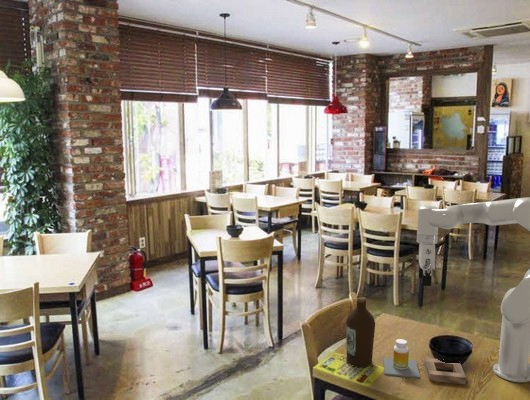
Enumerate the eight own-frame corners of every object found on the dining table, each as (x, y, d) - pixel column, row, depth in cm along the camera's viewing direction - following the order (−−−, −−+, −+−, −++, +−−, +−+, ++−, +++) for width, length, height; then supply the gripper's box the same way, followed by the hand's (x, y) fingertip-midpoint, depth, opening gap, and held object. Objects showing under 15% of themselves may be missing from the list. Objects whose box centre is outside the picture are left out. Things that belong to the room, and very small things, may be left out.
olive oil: (364, 353, 183) (367, 291, 179) (379, 366, 173) (381, 301, 169) (340, 357, 180) (341, 294, 176) (353, 370, 170) (355, 304, 166)
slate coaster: (415, 362, 176) (415, 360, 176) (419, 378, 165) (419, 376, 165) (383, 358, 179) (383, 357, 179) (384, 374, 167) (384, 373, 167)
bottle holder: (458, 367, 173) (459, 360, 172) (465, 384, 161) (466, 377, 161) (424, 364, 175) (424, 357, 174) (429, 380, 163) (429, 374, 163)
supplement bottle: (408, 370, 169) (409, 345, 167) (393, 369, 170) (394, 343, 168) (407, 363, 174) (408, 338, 172) (392, 362, 175) (393, 337, 174)
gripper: (441, 244, 170) (438, 289, 172) (433, 234, 187) (431, 275, 189) (419, 243, 171) (417, 288, 174) (414, 233, 188) (412, 274, 191)
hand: (424, 281), depth 181 cm, fingers open, 9 cm apart
